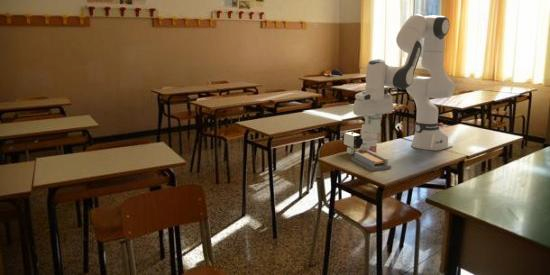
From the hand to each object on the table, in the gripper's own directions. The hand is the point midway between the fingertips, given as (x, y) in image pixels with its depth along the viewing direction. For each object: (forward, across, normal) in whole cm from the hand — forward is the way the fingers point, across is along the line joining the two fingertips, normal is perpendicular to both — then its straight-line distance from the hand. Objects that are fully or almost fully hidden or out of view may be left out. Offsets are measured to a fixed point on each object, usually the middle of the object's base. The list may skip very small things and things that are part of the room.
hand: (372, 123), depth 199 cm
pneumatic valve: (+21, -1, -19) cm, 28 cm away
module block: (+4, 0, 0) cm, 4 cm away
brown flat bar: (+18, 0, 0) cm, 18 cm away
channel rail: (+21, 0, 0) cm, 21 cm away
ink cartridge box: (+21, -13, -22) cm, 33 cm away
